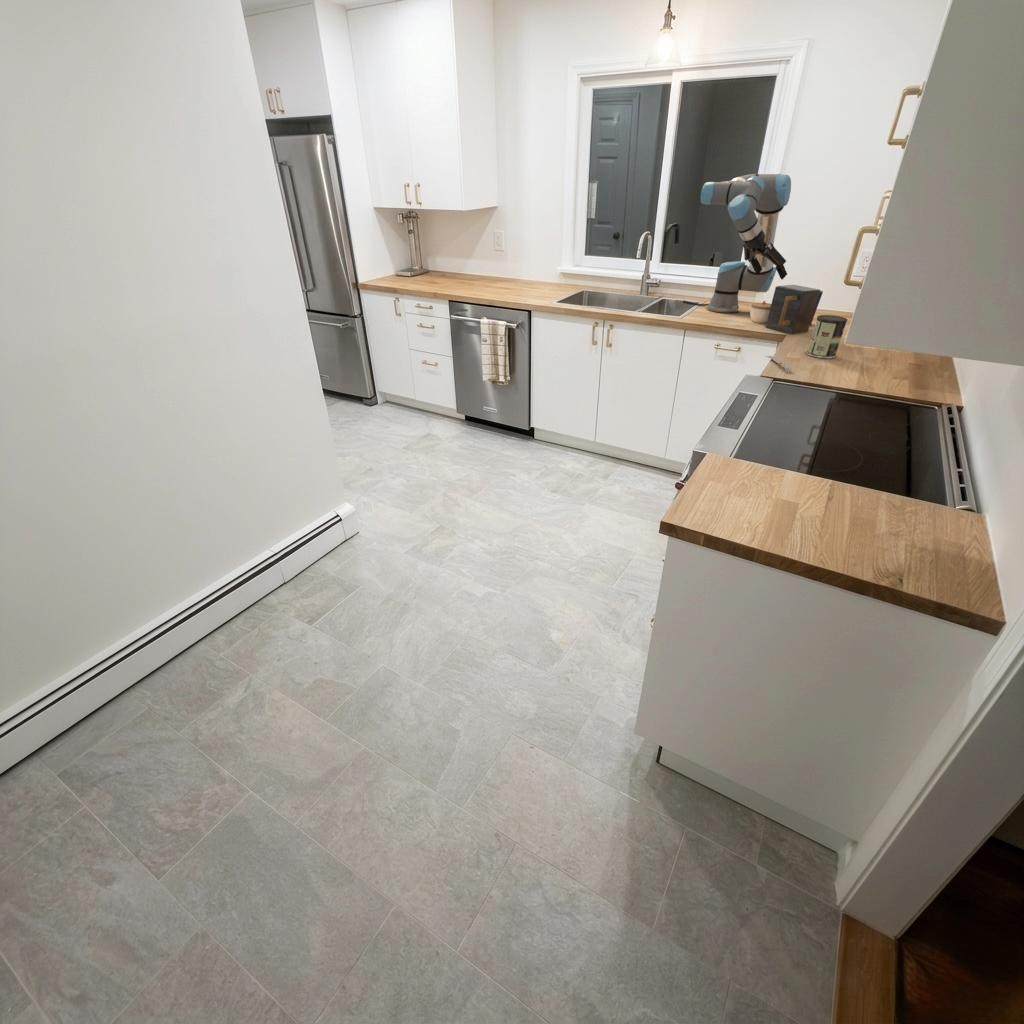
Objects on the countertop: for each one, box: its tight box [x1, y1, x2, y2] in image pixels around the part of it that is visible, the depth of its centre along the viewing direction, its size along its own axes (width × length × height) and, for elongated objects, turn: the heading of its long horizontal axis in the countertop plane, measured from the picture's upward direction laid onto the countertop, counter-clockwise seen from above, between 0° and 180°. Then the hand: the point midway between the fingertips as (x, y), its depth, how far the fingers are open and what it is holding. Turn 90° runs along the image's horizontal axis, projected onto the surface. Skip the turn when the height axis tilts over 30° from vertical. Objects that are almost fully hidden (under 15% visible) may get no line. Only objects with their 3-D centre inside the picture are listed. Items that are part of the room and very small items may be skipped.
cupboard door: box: [765, 285, 804, 335], centre depth 237 cm, size 7×14×18 cm, turn 26°
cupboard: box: [777, 284, 821, 335], centre depth 240 cm, size 10×14×18 cm
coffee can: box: [806, 314, 848, 360], centre depth 206 cm, size 10×10×14 cm
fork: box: [765, 355, 793, 374], centre depth 198 cm, size 3×21×3 cm, turn 178°
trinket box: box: [749, 300, 771, 324], centre depth 256 cm, size 11×11×9 cm
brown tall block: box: [810, 290, 824, 326], centre depth 251 cm, size 7×7×15 cm
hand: (771, 274), depth 220 cm, fingers open, 13 cm apart
